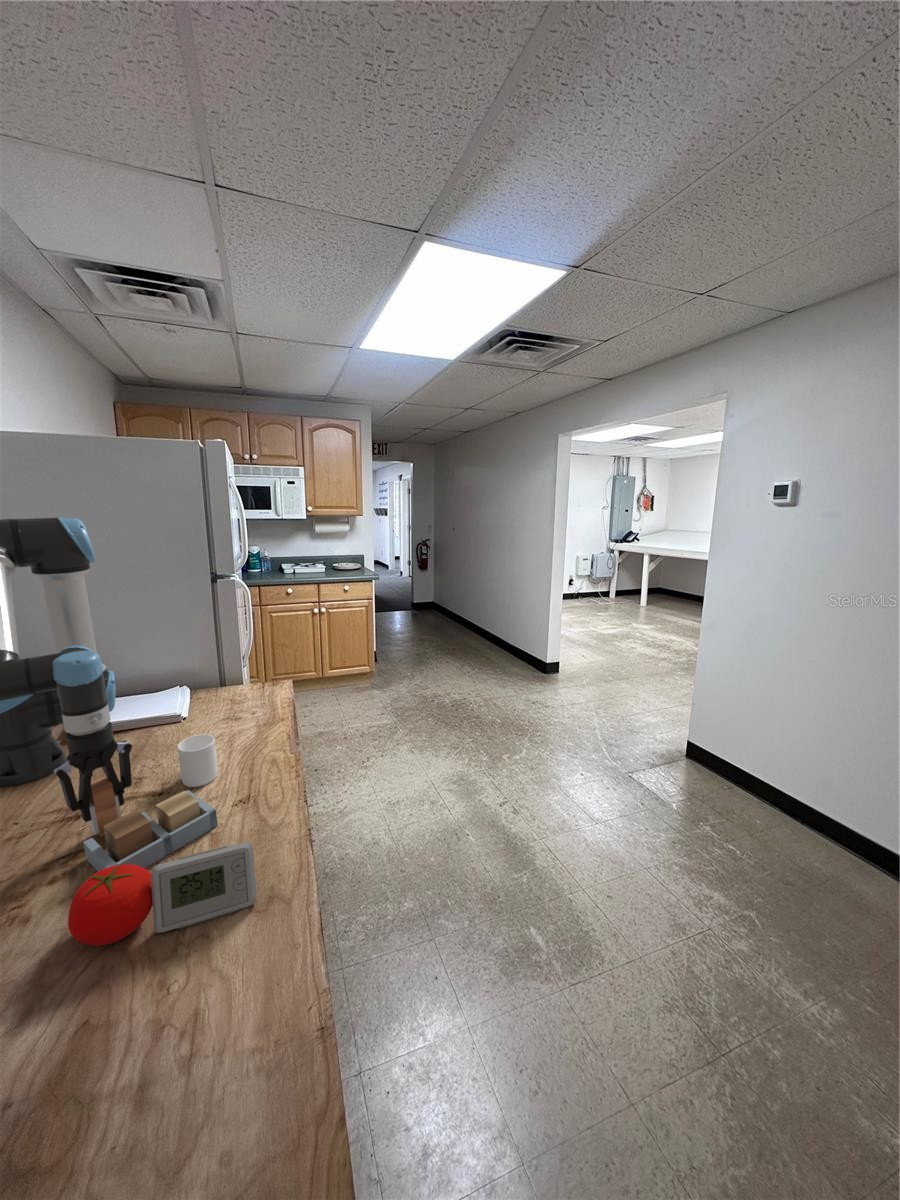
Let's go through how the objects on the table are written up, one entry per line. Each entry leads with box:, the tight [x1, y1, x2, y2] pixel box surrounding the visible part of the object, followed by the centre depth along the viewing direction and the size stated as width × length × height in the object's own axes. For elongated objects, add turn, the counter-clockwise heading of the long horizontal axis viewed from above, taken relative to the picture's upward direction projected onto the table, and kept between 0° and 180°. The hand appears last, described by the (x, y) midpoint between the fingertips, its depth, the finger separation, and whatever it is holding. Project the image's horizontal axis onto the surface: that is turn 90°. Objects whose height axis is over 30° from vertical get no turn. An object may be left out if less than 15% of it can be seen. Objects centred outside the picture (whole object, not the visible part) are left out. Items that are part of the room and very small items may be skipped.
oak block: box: [155, 790, 200, 833], centre depth 102 cm, size 6×6×7 cm
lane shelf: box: [83, 789, 219, 872], centre depth 99 cm, size 12×20×4 cm, turn 145°
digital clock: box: [150, 841, 258, 934], centre depth 83 cm, size 16×9×11 cm, turn 102°
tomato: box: [67, 864, 153, 947], centre depth 79 cm, size 11×12×10 cm
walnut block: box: [90, 776, 153, 863], centre depth 96 cm, size 17×6×11 cm, turn 55°
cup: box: [177, 733, 219, 788], centre depth 121 cm, size 8×12×10 cm
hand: (106, 825), depth 101 cm, fingers closed on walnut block, 3 cm apart
